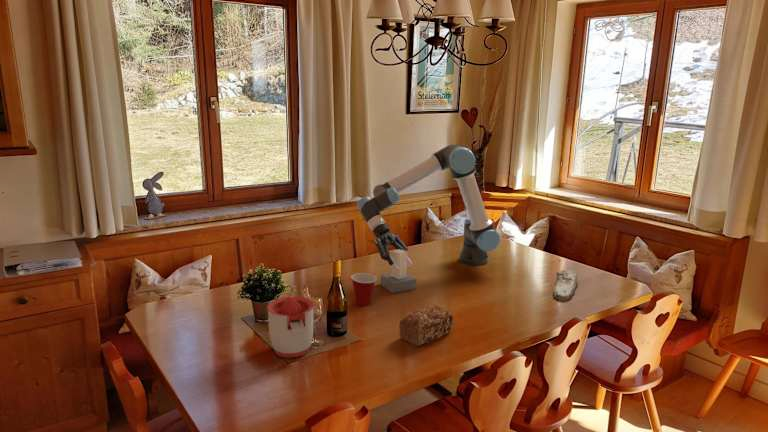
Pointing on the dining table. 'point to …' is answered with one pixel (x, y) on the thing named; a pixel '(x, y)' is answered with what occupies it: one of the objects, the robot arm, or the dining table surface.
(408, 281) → the blue-grey flat block
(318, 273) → the dining table surface
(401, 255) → the cream pillar block
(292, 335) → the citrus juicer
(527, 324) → the dining table surface
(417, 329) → the bread
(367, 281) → the plastic cup
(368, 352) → the dining table surface
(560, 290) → the stone
